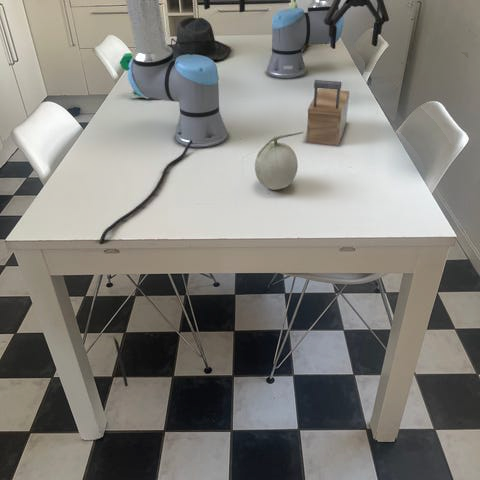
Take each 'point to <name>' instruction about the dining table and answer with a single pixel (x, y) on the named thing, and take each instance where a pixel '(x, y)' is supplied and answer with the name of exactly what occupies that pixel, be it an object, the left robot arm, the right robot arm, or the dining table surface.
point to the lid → (328, 98)
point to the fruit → (276, 164)
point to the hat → (197, 40)
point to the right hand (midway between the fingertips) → (353, 46)
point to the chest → (326, 127)
